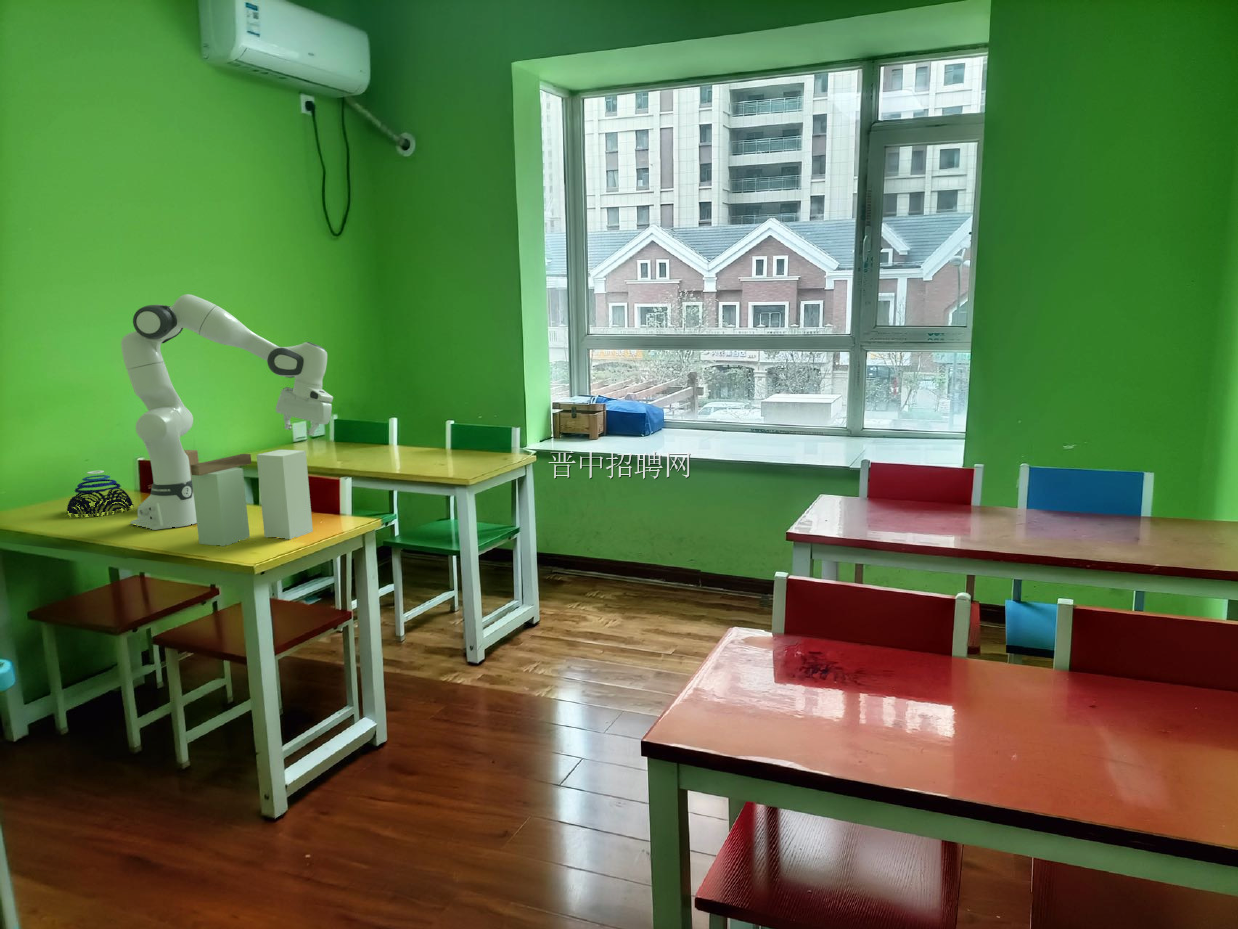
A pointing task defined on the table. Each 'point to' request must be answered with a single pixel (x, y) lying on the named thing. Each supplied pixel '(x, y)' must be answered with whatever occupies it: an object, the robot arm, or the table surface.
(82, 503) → the decorative bowl
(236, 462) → the walnut bar
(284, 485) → the grey post
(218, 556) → the table surface
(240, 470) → the sage post
